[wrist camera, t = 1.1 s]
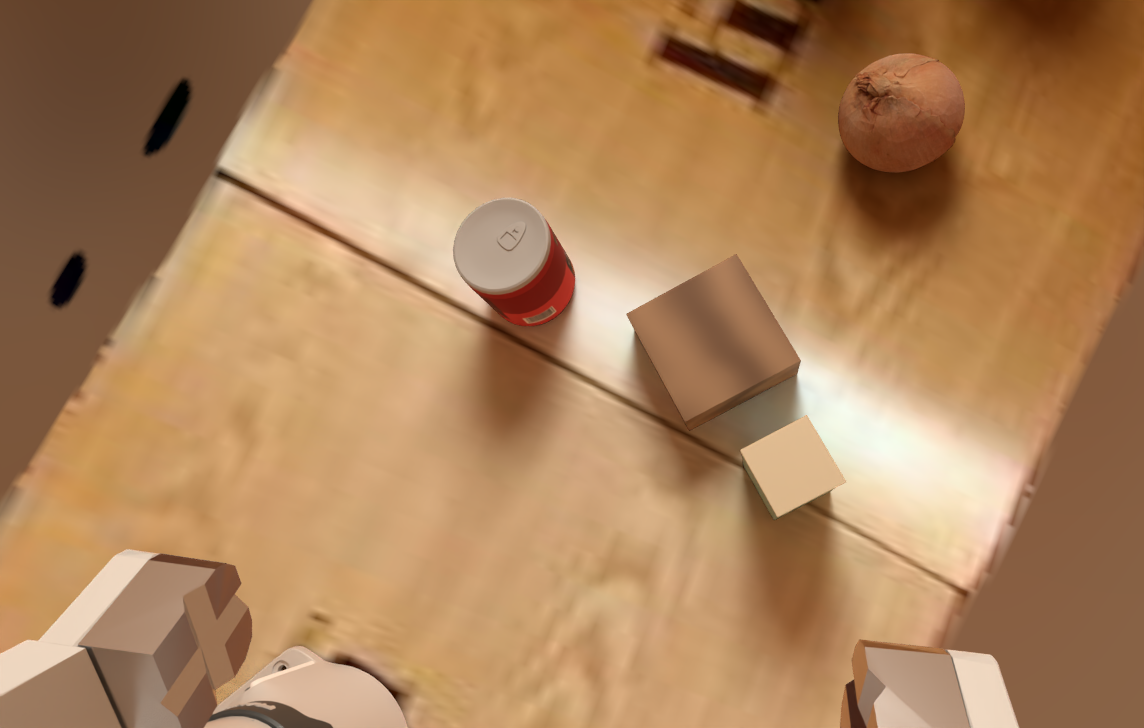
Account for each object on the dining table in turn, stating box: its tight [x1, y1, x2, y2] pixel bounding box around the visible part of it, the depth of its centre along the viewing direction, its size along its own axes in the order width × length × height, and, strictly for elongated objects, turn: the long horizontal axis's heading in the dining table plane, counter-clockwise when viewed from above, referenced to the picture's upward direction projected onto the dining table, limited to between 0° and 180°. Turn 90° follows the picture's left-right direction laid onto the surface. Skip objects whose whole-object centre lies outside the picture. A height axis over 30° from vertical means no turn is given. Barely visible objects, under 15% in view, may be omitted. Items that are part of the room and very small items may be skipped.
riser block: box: [627, 254, 801, 431], centre depth 68 cm, size 10×10×5 cm
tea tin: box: [740, 415, 846, 520], centre depth 63 cm, size 5×5×10 cm
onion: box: [838, 53, 965, 172], centre depth 67 cm, size 10×9×10 cm
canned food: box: [453, 198, 575, 326], centre depth 70 cm, size 8×8×11 cm
